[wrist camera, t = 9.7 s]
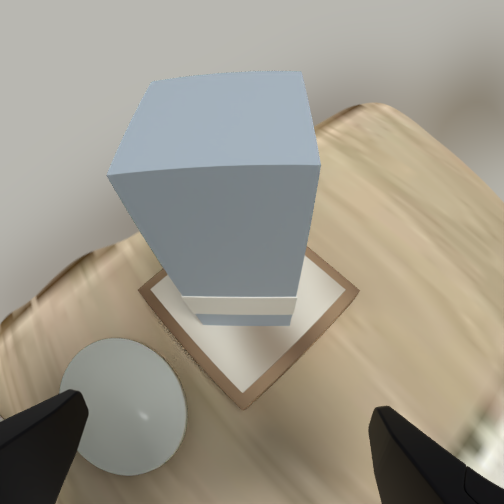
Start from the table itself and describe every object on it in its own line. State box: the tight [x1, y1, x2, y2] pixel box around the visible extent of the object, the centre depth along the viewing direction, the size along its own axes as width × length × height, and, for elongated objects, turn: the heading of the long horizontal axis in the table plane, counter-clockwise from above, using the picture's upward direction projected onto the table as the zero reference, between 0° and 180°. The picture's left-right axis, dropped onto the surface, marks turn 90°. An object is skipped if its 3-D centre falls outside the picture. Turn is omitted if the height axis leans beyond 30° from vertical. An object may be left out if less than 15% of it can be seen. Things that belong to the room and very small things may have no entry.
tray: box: [138, 246, 360, 410], centre depth 19 cm, size 10×10×2 cm
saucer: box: [59, 338, 188, 476], centre depth 16 cm, size 9×9×2 cm
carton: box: [107, 71, 321, 326], centre depth 13 cm, size 5×5×12 cm
